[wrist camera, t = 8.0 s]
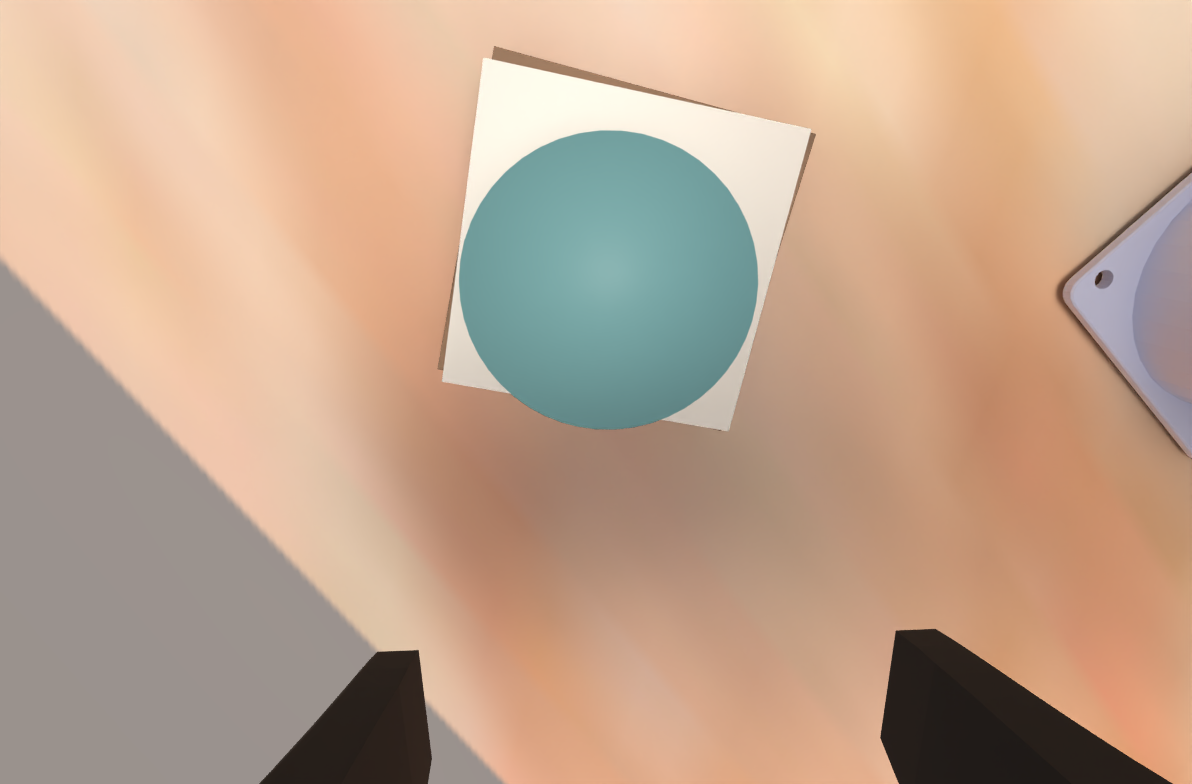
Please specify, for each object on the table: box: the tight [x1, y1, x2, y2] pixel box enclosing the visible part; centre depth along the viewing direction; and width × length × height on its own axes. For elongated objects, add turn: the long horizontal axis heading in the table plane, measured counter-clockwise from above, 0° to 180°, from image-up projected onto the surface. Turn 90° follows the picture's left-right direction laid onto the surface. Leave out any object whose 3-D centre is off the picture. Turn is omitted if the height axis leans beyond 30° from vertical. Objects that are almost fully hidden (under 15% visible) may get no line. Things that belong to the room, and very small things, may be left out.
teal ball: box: [459, 130, 758, 429], centre depth 12 cm, size 5×5×5 cm
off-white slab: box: [442, 58, 811, 431], centre depth 15 cm, size 7×7×2 cm
